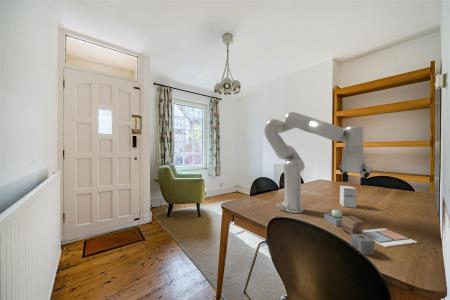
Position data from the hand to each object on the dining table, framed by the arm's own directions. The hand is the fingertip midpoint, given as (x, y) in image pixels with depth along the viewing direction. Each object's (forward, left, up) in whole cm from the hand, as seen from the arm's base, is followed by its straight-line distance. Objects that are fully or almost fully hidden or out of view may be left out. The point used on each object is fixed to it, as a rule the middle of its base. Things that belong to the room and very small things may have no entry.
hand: (354, 183), depth 88 cm
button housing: (-8, +2, -21) cm, 22 cm away
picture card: (0, -15, -21) cm, 25 cm away
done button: (-8, +2, -18) cm, 20 cm away
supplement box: (+21, +23, -21) cm, 37 cm away
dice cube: (-19, -21, -21) cm, 35 cm away
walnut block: (-11, -8, -20) cm, 24 cm away
